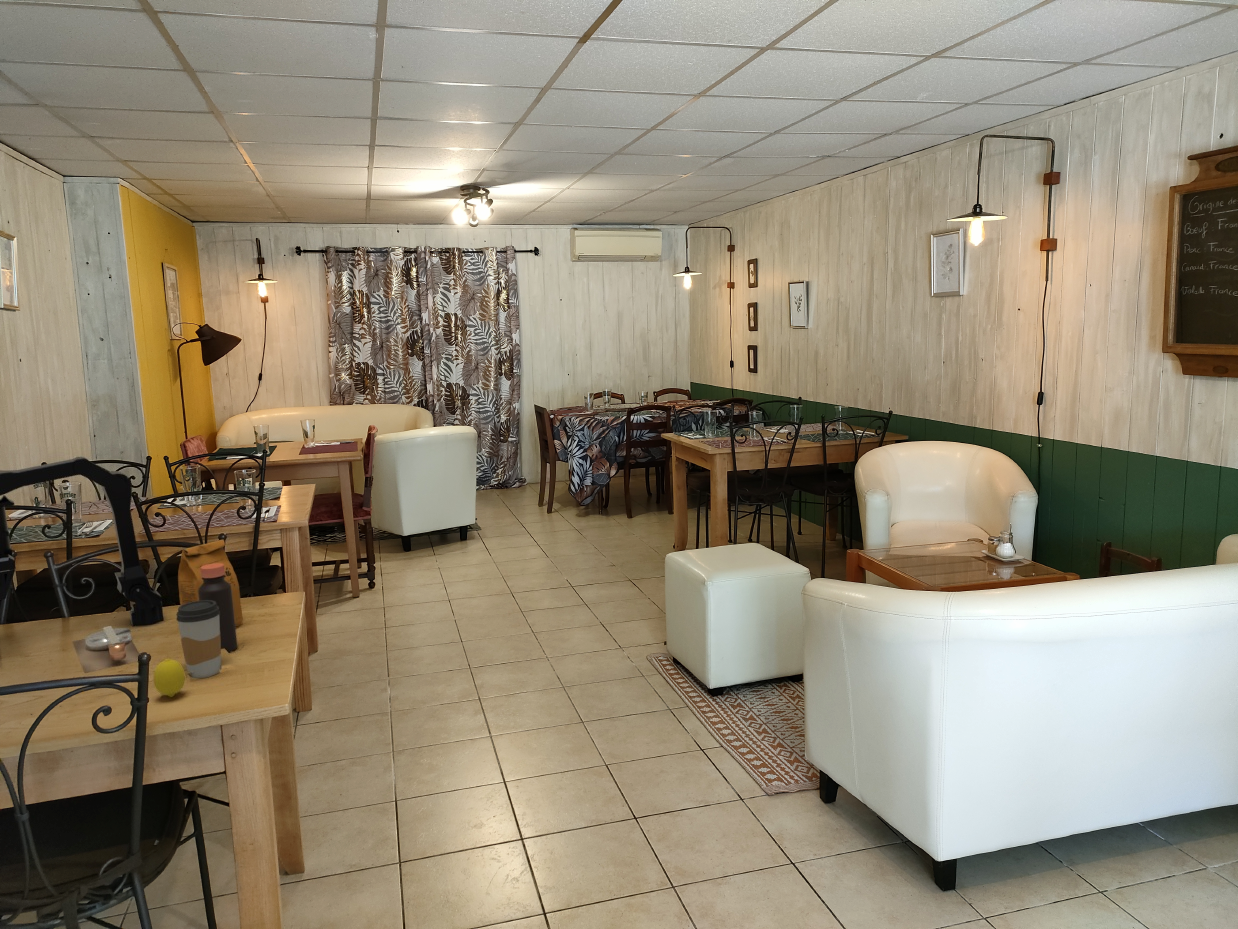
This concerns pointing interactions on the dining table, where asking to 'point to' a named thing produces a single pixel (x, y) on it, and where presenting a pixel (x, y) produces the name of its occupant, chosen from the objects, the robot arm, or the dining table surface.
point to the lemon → (169, 677)
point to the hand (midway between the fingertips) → (1, 594)
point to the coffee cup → (200, 637)
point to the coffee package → (192, 577)
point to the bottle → (220, 602)
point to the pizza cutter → (110, 641)
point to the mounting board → (102, 656)
